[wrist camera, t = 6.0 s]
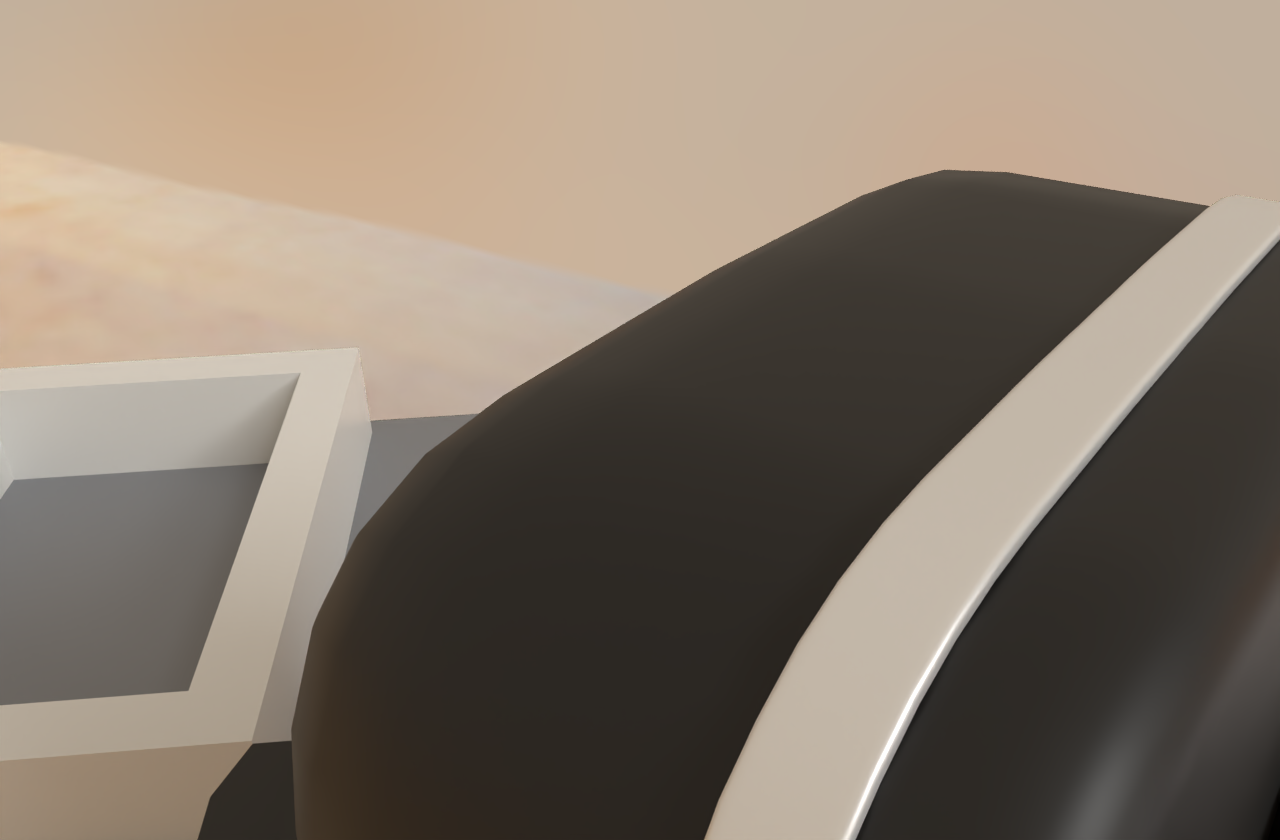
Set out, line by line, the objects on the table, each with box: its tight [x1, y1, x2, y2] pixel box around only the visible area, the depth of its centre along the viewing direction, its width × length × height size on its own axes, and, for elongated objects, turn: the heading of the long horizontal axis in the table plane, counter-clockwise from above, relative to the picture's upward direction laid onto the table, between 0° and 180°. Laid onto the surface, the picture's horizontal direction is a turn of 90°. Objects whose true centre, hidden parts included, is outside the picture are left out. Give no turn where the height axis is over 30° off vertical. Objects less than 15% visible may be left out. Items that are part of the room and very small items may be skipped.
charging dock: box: [0, 347, 478, 840], centre depth 20 cm, size 16×12×3 cm
